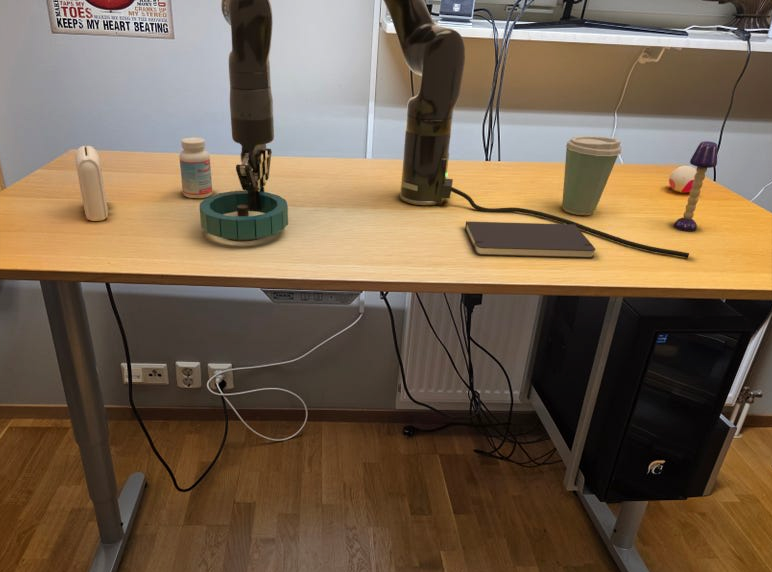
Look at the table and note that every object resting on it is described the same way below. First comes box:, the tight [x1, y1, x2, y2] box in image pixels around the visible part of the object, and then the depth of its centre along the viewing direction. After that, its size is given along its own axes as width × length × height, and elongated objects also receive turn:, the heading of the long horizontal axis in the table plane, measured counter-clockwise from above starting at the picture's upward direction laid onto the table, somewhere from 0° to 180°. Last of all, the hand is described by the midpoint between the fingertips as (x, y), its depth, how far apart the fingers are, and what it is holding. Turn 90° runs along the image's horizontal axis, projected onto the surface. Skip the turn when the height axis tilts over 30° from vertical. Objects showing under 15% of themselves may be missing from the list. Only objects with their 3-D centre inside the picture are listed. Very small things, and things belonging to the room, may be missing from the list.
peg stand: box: [227, 205, 260, 242], centre depth 119 cm, size 8×8×5 cm
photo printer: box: [74, 145, 109, 222], centre depth 123 cm, size 10×4×12 cm, turn 20°
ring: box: [199, 190, 289, 240], centre depth 119 cm, size 16×16×4 cm
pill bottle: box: [178, 136, 213, 199], centre depth 135 cm, size 6×6×11 cm
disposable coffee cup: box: [561, 135, 622, 216], centre depth 134 cm, size 11×11×15 cm
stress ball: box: [668, 165, 697, 194], centre depth 151 cm, size 8×8×7 cm
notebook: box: [464, 221, 596, 259], centre depth 121 cm, size 13×2×21 cm
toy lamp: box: [673, 140, 718, 232], centre depth 127 cm, size 5×5×17 cm
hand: (257, 207), depth 125 cm, fingers closed on ring, 2 cm apart
